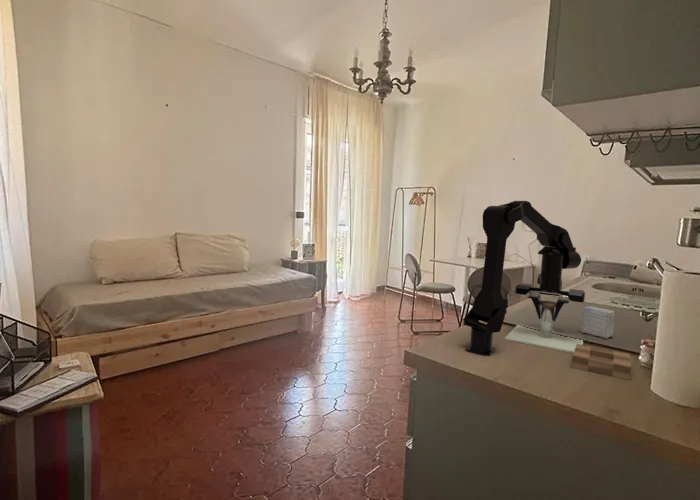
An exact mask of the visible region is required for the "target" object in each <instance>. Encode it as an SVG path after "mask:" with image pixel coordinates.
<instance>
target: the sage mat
mask: <svg viewBox="0 0 700 500" xmlns="http://www.w3.org/2000/svg"><path fill="white" fill-rule="evenodd" d="M520 325H521V324H520ZM520 325H518V324H516V325H515V327H514V328H513V329H512V330H510V332H509V333H507V335H506V336H505V337H504V338H503V340H504V341H510V342H515V343H519V344H524V345H525V344H526V345H530V346H536V347H540V348H546V349H552V350H557V351H560V352H567V353H570V354H571V353H572V354H574V351H575V348H576V344H580V345H584V342H583V340H579V339H574V338H570V337H564V336H560V335H556V334H543V333H540V331H538V330H534V329H530V328H526V327H523V326H520Z"/></svg>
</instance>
